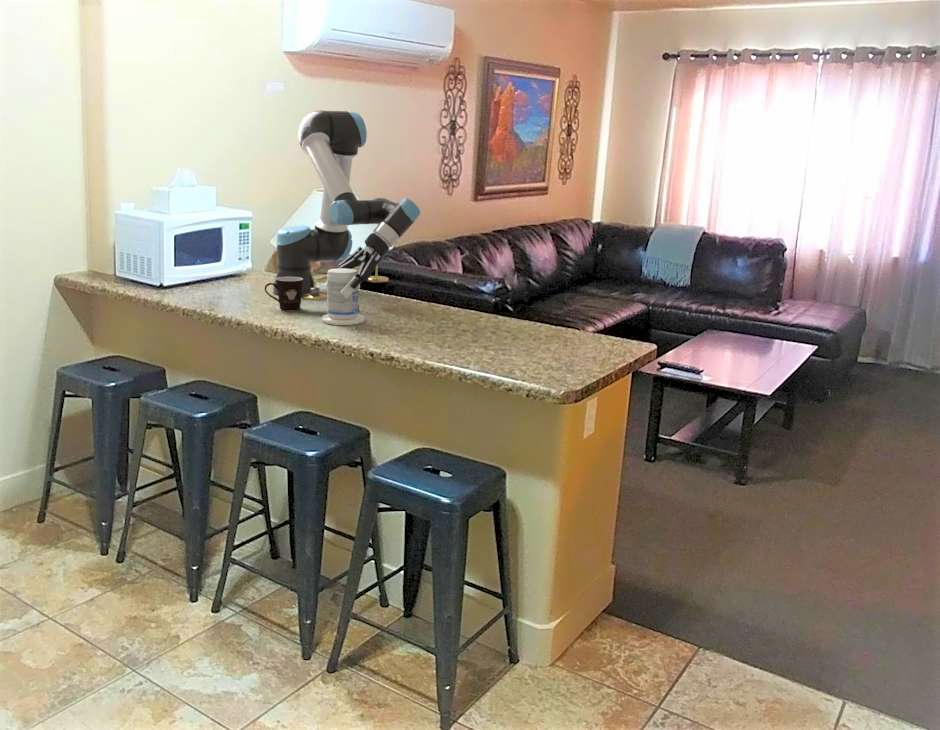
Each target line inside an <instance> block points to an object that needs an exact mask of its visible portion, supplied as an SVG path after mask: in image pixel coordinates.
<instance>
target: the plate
mask: <svg viewBox="0 0 940 730" xmlns="http://www.w3.org/2000/svg"><path fill="white" fill-rule="evenodd" d="M321 322H322V323H323V322H324V323H323V324H325V323H327V324H326V325H329V324H332V325H331V326H336V325H351V326H354V325H353V324H358V325H360V324H359V323H361V324H363V323H365V317H364V315H361V314H358V316H357V317H356V318H354V319H346V320H340V319H332V318H330V317H329V316H328V313H327V314H323V315H322V316H321Z"/></svg>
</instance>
